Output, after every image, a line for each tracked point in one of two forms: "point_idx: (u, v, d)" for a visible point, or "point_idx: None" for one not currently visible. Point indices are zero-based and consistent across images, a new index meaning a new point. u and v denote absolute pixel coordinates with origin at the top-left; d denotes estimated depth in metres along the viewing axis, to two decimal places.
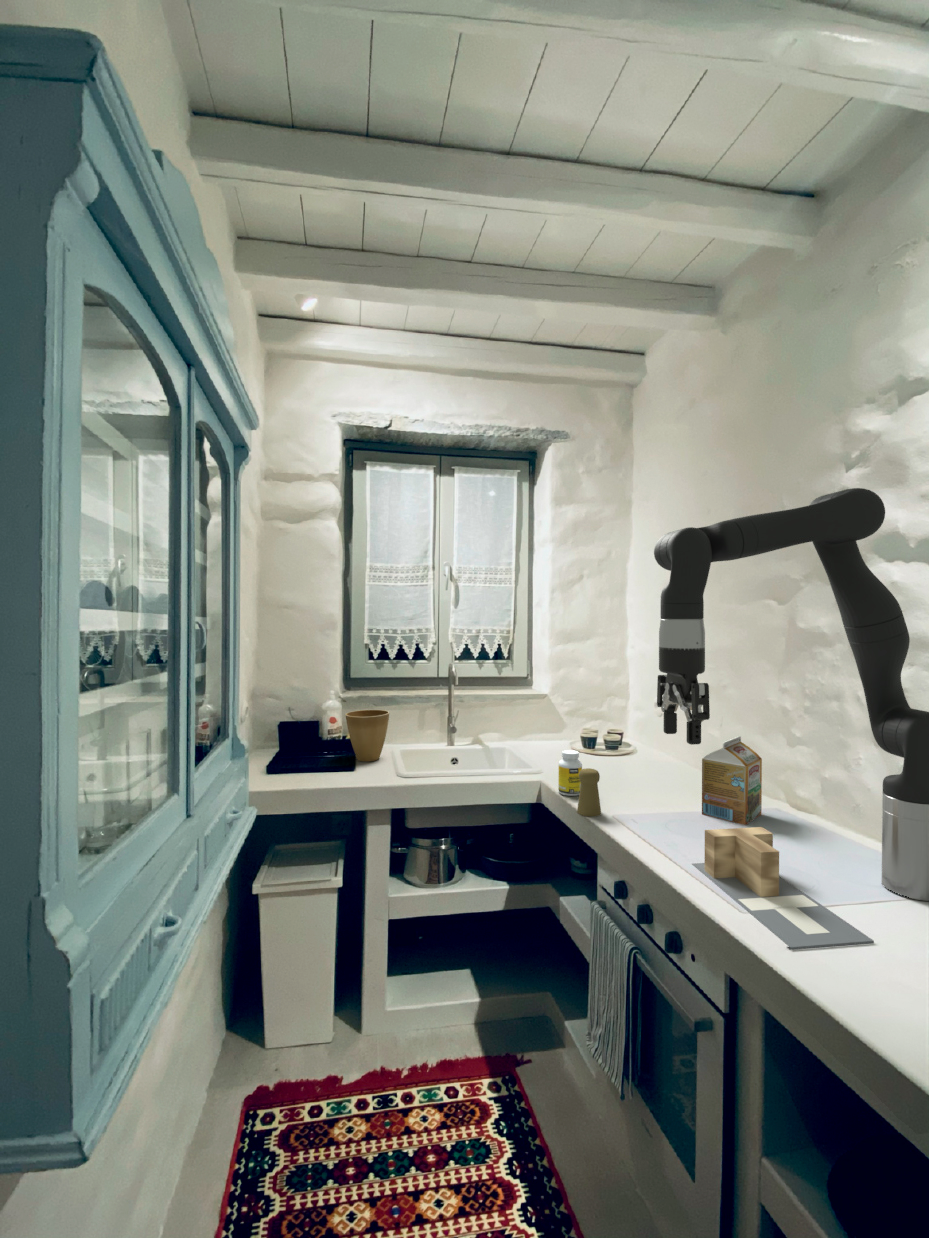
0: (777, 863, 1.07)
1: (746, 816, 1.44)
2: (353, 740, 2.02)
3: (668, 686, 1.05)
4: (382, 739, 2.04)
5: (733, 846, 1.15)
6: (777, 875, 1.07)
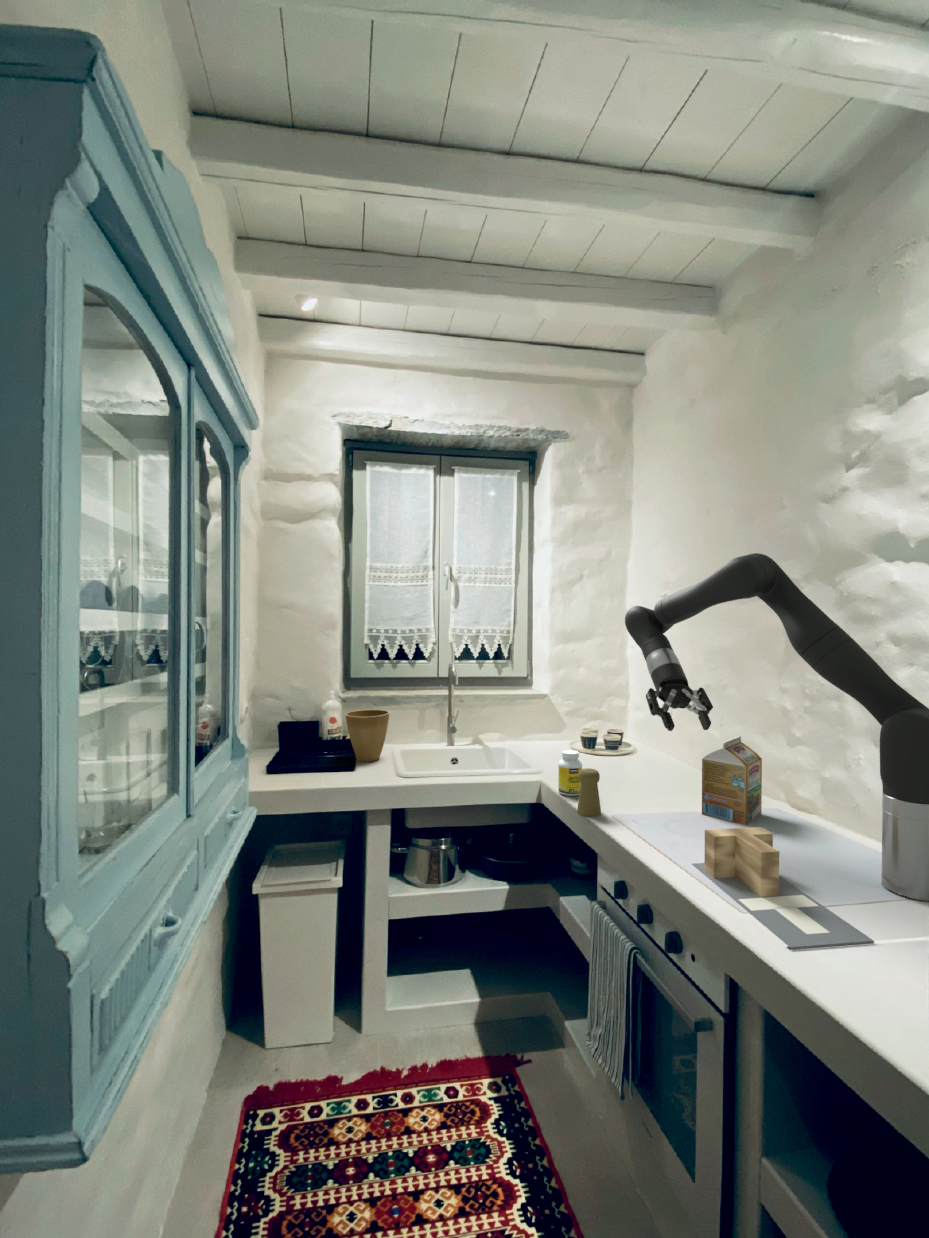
0: (777, 863, 1.07)
1: (746, 816, 1.44)
2: (353, 740, 2.02)
3: None
4: (382, 739, 2.04)
5: (733, 846, 1.15)
6: (777, 875, 1.07)
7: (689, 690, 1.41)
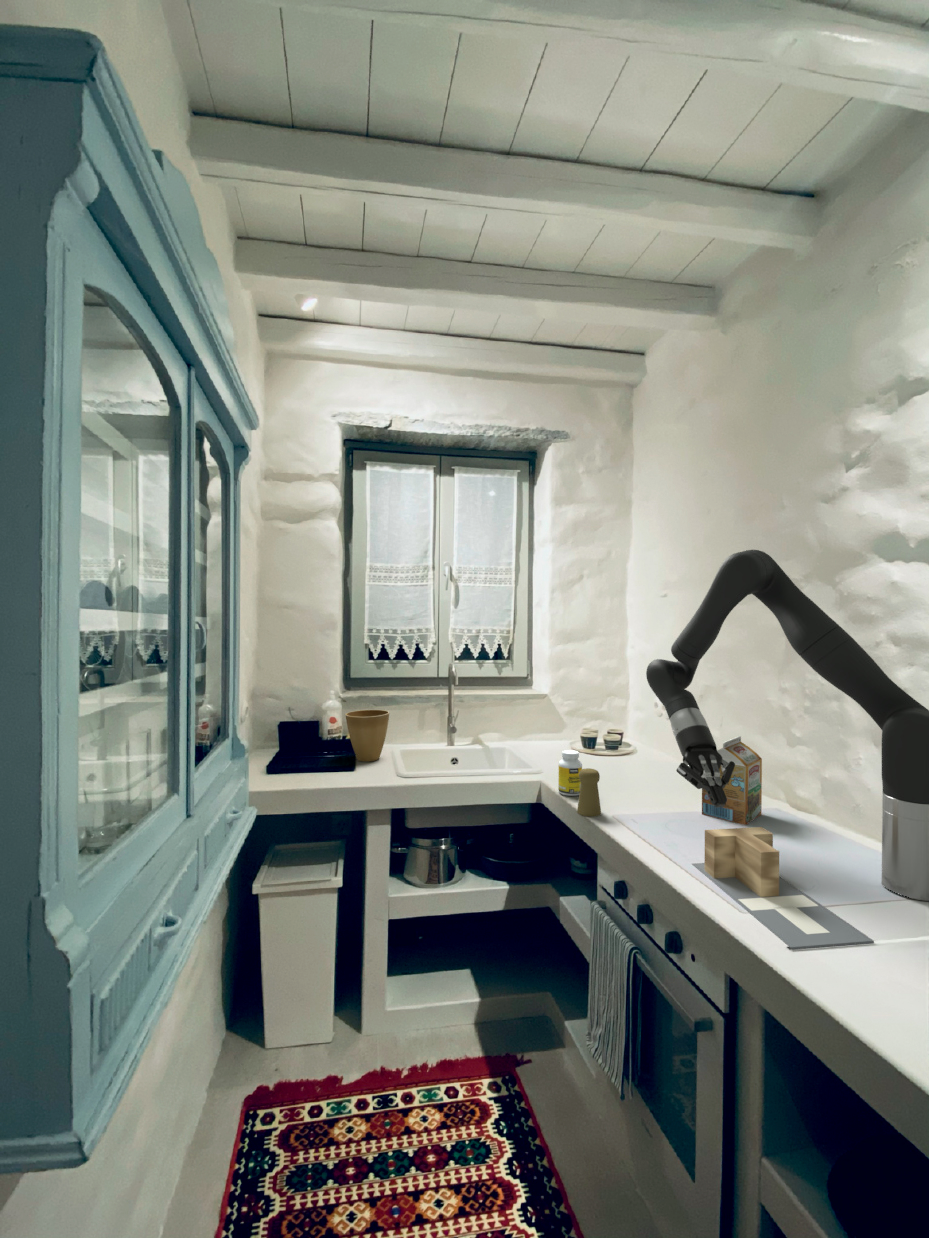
0: (777, 863, 1.07)
1: (746, 816, 1.44)
2: (353, 740, 2.02)
3: None
4: (382, 739, 2.04)
5: (733, 846, 1.15)
6: (777, 875, 1.07)
7: (718, 756, 1.30)
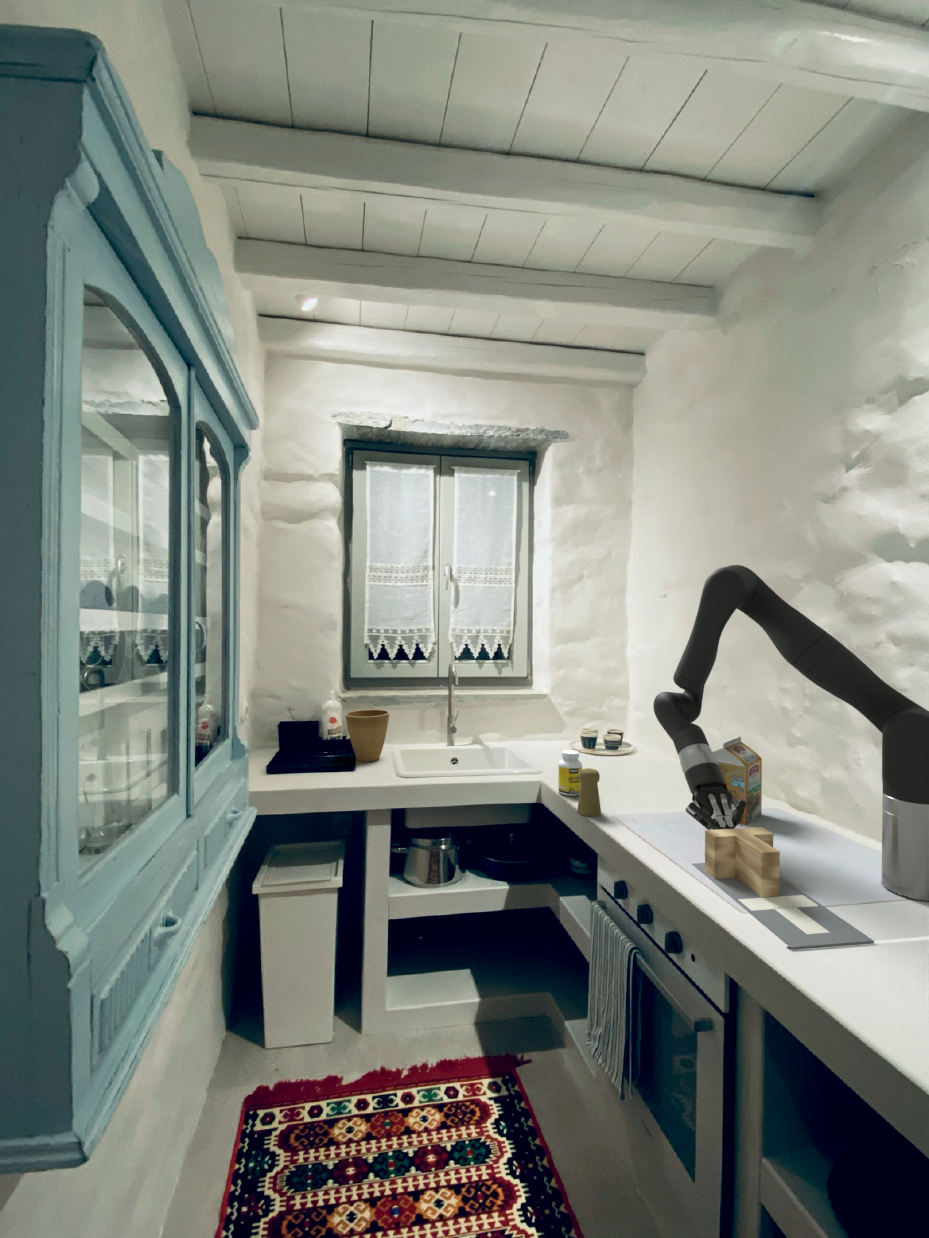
0: (777, 863, 1.07)
1: (746, 816, 1.44)
2: (353, 740, 2.02)
3: None
4: (382, 739, 2.04)
5: (733, 846, 1.15)
6: (777, 875, 1.07)
7: (728, 795, 1.26)
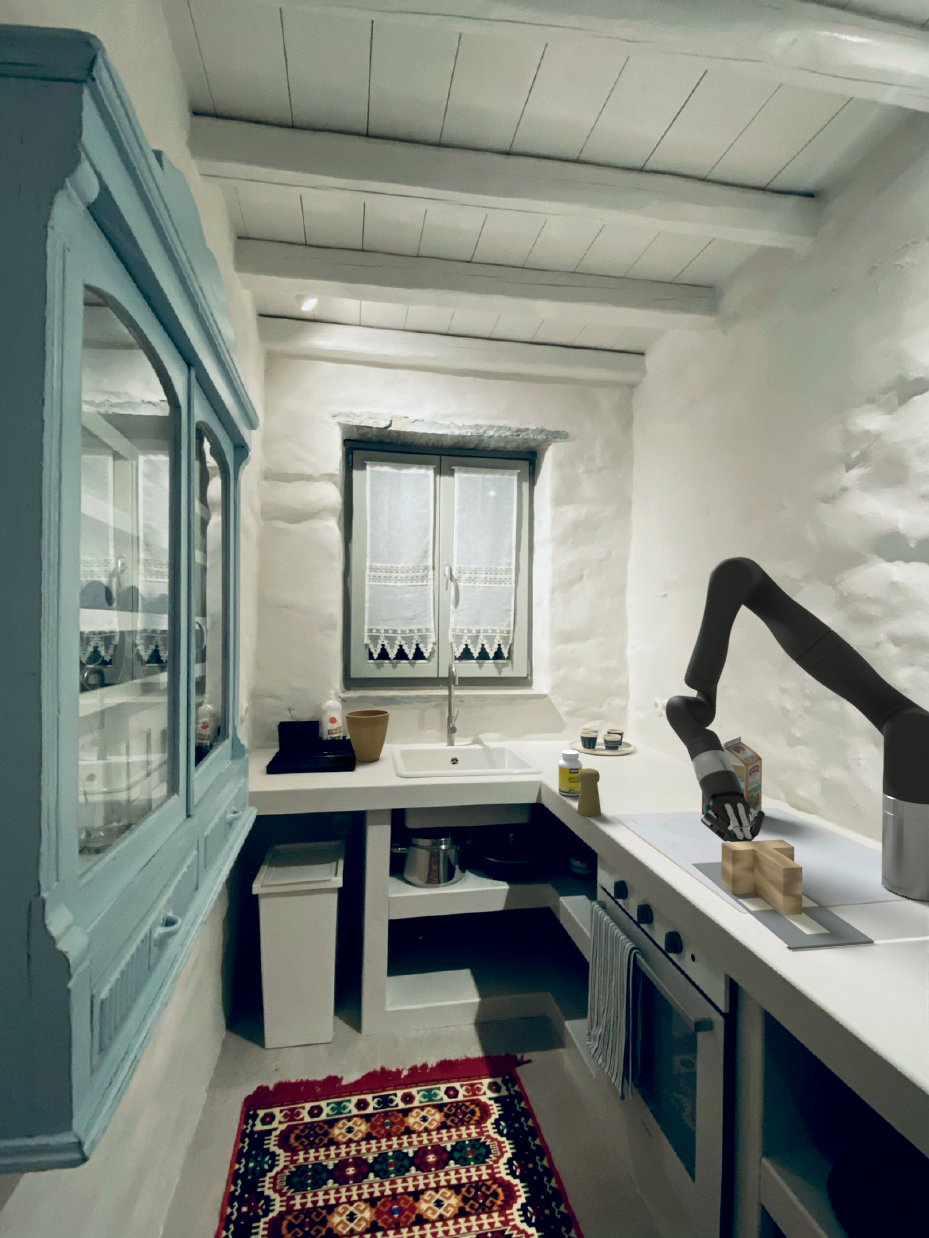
0: (800, 879, 1.01)
1: None
2: (353, 740, 2.02)
3: None
4: (382, 739, 2.04)
5: (752, 860, 1.08)
6: (800, 892, 1.01)
7: (746, 804, 1.20)
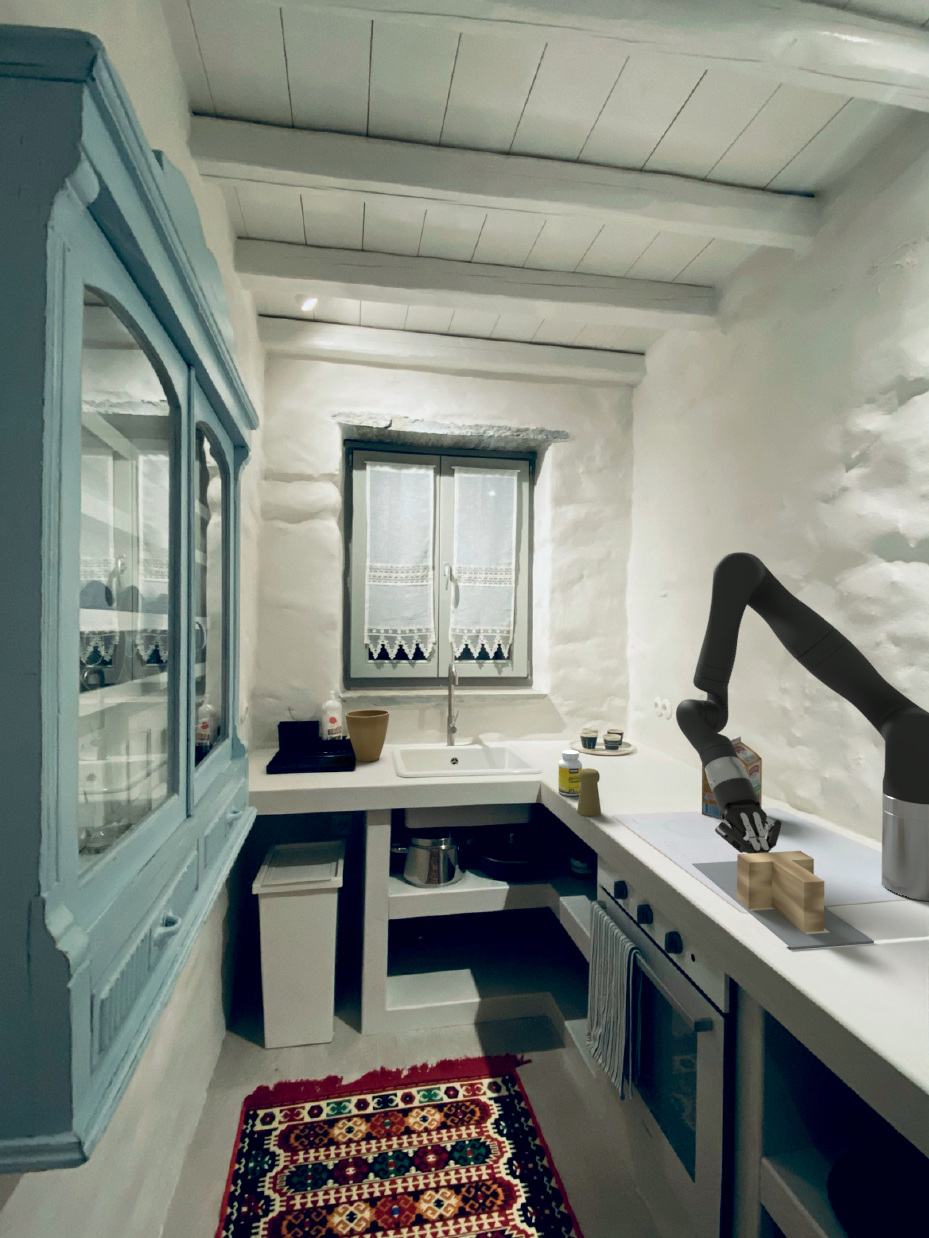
0: (822, 894, 0.96)
1: None
2: (353, 740, 2.02)
3: None
4: (382, 739, 2.04)
5: (770, 873, 1.03)
6: (822, 908, 0.96)
7: (762, 813, 1.14)
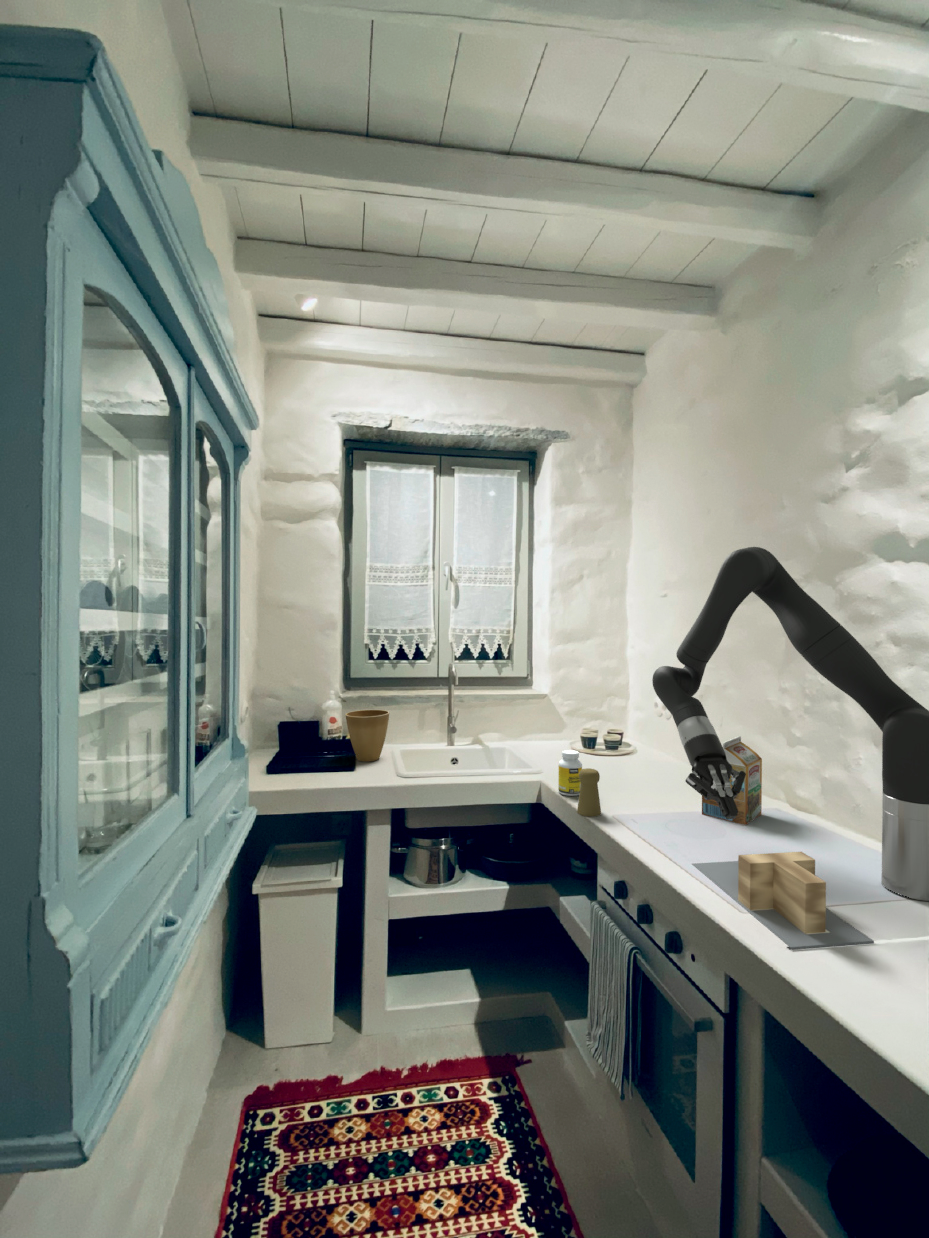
0: (823, 895, 0.95)
1: (746, 816, 1.44)
2: (353, 740, 2.02)
3: None
4: (382, 739, 2.04)
5: (771, 874, 1.03)
6: (823, 909, 0.95)
7: (728, 765, 1.26)
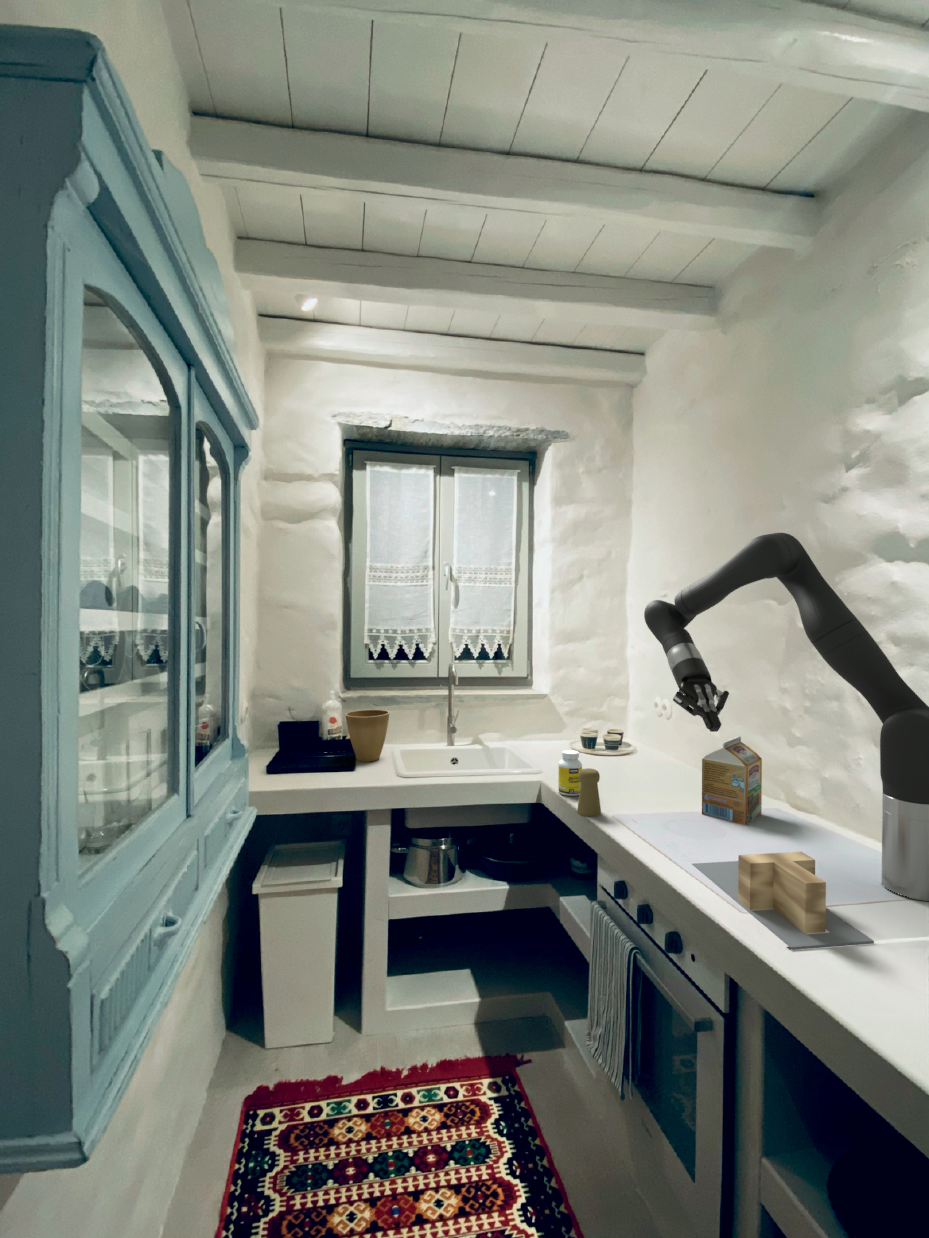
0: (823, 895, 0.95)
1: (746, 816, 1.44)
2: (353, 740, 2.02)
3: None
4: (382, 739, 2.04)
5: (771, 874, 1.03)
6: (823, 909, 0.95)
7: (712, 686, 1.35)
